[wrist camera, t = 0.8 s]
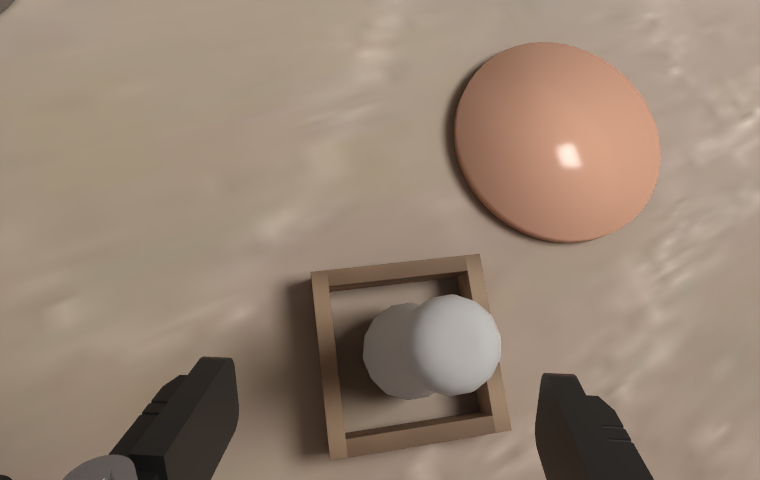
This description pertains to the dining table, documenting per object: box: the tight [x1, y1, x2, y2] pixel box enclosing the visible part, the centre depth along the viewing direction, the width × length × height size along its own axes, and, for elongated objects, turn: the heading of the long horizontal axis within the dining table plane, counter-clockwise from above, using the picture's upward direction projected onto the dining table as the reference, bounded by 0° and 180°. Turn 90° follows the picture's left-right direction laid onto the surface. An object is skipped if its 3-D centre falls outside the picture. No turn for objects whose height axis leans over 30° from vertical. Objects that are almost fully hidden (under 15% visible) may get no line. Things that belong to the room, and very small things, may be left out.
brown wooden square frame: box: [311, 254, 511, 461], centre depth 32 cm, size 11×11×2 cm
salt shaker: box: [363, 294, 501, 400], centre depth 27 cm, size 6×6×13 cm
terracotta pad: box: [454, 42, 661, 243], centre depth 38 cm, size 16×16×1 cm
